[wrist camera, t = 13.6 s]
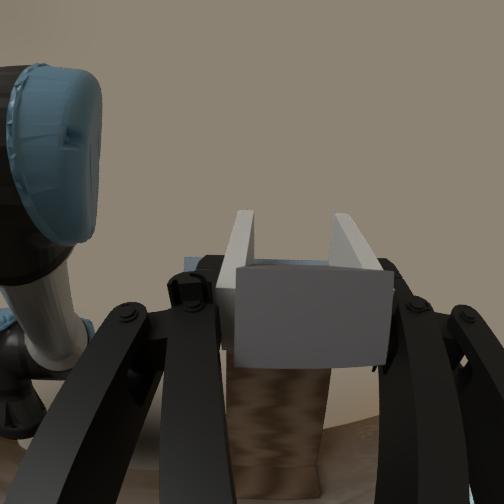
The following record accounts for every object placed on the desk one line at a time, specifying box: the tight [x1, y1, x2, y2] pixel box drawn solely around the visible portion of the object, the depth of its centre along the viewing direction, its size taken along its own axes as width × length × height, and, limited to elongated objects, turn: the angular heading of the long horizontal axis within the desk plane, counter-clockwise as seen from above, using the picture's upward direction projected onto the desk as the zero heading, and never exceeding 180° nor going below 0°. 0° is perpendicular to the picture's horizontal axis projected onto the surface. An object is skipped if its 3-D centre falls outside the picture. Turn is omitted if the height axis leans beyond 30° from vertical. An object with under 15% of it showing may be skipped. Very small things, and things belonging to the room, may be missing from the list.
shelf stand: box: [226, 350, 331, 499], centre depth 33 cm, size 14×9×28 cm, turn 86°
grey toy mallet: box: [184, 257, 394, 369], centre depth 15 cm, size 12×17×3 cm
